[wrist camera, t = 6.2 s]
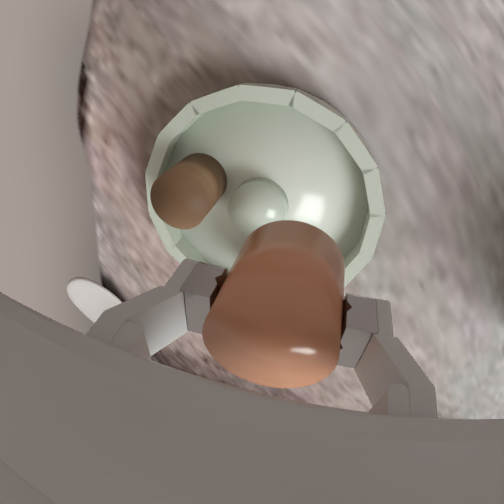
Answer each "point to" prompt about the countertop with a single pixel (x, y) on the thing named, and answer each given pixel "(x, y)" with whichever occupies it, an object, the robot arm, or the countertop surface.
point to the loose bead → (280, 307)
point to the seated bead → (188, 190)
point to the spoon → (91, 297)
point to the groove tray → (273, 172)
